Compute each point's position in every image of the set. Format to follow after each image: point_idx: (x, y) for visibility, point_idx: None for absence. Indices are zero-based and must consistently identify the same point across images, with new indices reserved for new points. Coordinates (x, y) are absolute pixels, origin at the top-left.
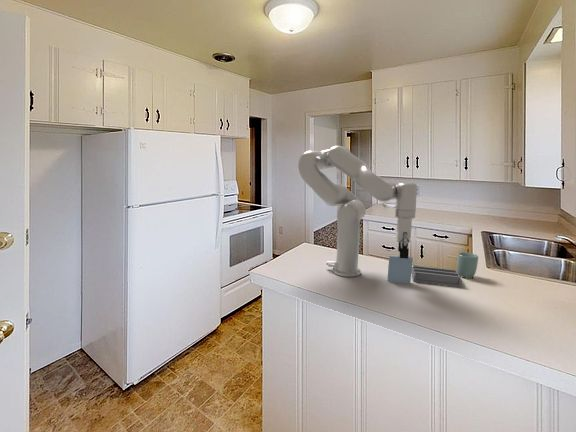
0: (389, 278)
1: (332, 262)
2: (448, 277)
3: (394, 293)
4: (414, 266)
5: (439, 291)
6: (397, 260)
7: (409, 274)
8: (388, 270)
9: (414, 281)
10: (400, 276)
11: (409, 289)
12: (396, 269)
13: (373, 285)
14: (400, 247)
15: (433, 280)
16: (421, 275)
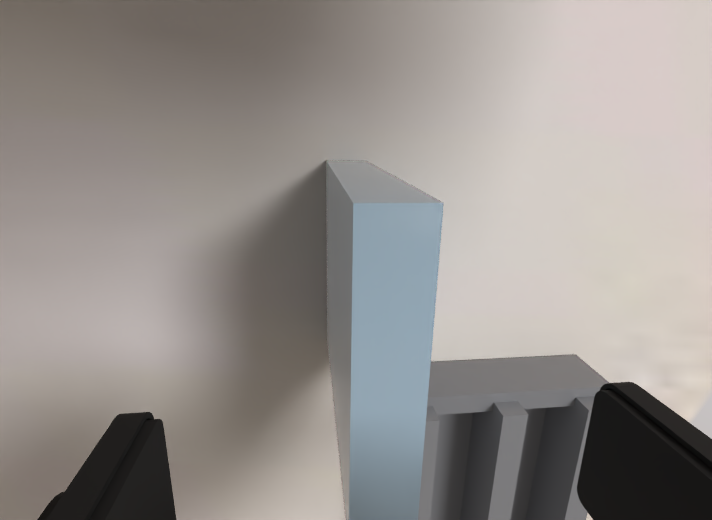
0: (327, 180)
1: None
2: None
3: (41, 214)
4: (585, 416)
5: (253, 504)
6: (343, 321)
7: (332, 374)
8: (332, 173)
9: None
10: (329, 287)
11: (200, 331)
12: (333, 268)
13: (149, 12)
14: (656, 473)
15: None
16: None
